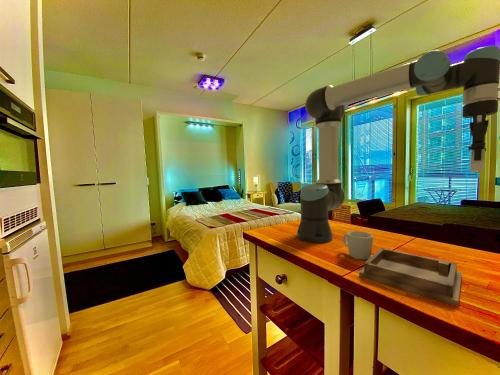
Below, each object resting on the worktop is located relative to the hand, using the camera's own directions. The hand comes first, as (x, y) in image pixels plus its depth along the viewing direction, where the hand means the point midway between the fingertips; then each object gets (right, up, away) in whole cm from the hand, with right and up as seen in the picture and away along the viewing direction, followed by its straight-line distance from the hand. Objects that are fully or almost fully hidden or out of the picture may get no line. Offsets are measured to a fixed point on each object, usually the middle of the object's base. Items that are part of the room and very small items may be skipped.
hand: (476, 171), depth 68 cm
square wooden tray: (-28, -30, -8) cm, 41 cm away
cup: (-35, -29, +7) cm, 46 cm away
